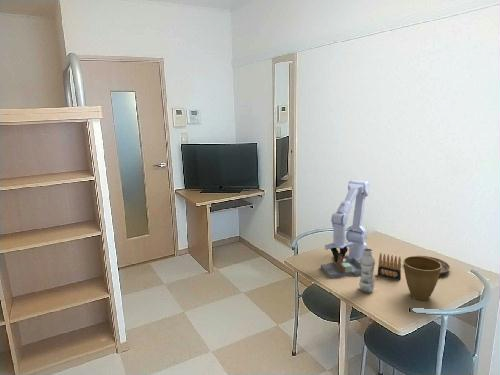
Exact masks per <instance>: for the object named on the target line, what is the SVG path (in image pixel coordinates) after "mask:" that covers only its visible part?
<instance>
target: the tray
mask: <svg viewBox="0 0 500 375" xmlns="http://www.w3.org/2000/svg"><path fill="white" fill-rule="evenodd" d="M344 259H345V260H346V263H349V264H350V265H352V271H353V276H354V277H361V264H360V260H357V259H355V258H354V257H353V258H344Z"/></svg>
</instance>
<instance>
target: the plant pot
mask: <svg viewBox="0 0 500 375" xmlns="http://www.w3.org/2000/svg"><path fill="white" fill-rule="evenodd" d="M422 256H423V255H411V256H407V257H405V258H403V270H404V275H405V281H406V284H407V288H408V291H409V294H410V296H411V298H413V299H415V300H417V301H427V300H429V299H430V297H431V296H432V294H433V293H434V290H435V289H436V286H437V283H438V281H439V278H440V276H441V275H440V271H441V267H442V265H441V263H439V262H438V261H436V260H434V259H431V258H427V257H422Z"/></svg>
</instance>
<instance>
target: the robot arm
mask: <svg viewBox="0 0 500 375" xmlns="http://www.w3.org/2000/svg"><path fill="white" fill-rule="evenodd" d="M370 188H371V187H370V183H369V181H367V180H366V181H364V180H355V179H350V180H349V181H348V183H347V191H348V192H347V194H346V196H345V199H344V200H343V201H341V202H340V204H339V206H338V209H337V210H336V212H334V213H332V215H331V219H330V222H331V226H332V228H333V230H332V231H333V233H332V234H333V235H332V239H333V240H332V242H331V243H327V244H324V249H325V250H326V251H328V250H330V251H331V253H332V255H333V256H332V257H334V261H335V262H337V260H338V258H337V257H338V253H339V252H340V253H341V254H342V261H343V259H345V257H347V259H349V258H353V257H354V258H355V259H357V260H358V261H360V259H361V257H362V256H363V255H364V254H363V252H364V249H369V248H368V244H367V243H366V241H367V230H366V229H365V227H363V219H364V211H365V203H366V197H368V196H369V193H370ZM354 200H355V203H354V209H353V210H354V211H353V218H352V219H353V220H352V225H349V227H347V231H346V225H347V223H348V220H349V219H348V218H349V214H350V213H351V210H352V208H353V206H352V203H353V202H354ZM338 249H339V250H338Z"/></svg>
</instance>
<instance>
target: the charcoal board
mask: <svg viewBox="0 0 500 375" xmlns="http://www.w3.org/2000/svg"><path fill="white" fill-rule="evenodd" d="M320 269H321V271H323V273H324V274H325V275H326V276H327V277H328V278H329V279H336V278H337V279H339V278H344V277H351V276H354V275H353V271H352V272H345V273H342V272H341V271H340V270H339V269H338V268H337V267H336V266H335V264H334V263H333V262H331V263H323V264H320Z"/></svg>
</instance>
